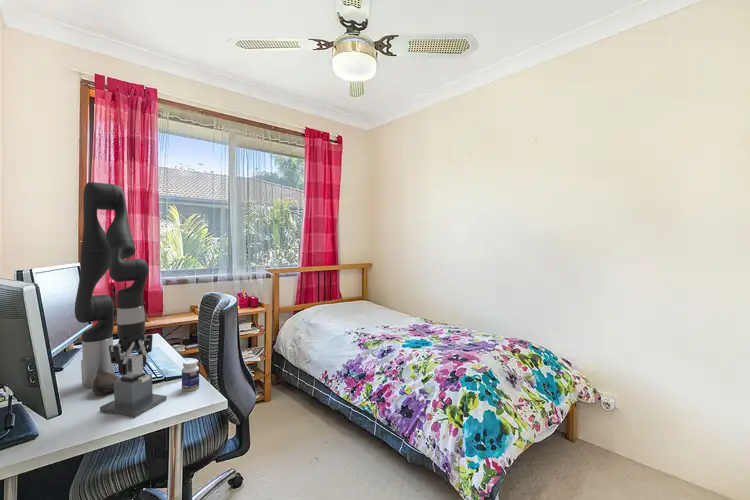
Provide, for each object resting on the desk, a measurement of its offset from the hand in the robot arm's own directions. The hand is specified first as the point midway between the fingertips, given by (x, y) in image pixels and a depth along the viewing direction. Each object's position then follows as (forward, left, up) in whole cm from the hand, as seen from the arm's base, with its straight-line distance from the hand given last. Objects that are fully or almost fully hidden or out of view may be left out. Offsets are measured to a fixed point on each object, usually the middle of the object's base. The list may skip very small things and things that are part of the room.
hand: (132, 370), depth 119 cm
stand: (0, 0, -12) cm, 12 cm away
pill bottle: (+8, +16, -12) cm, 22 cm away
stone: (-19, +6, -12) cm, 23 cm away
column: (0, 0, -10) cm, 10 cm away
